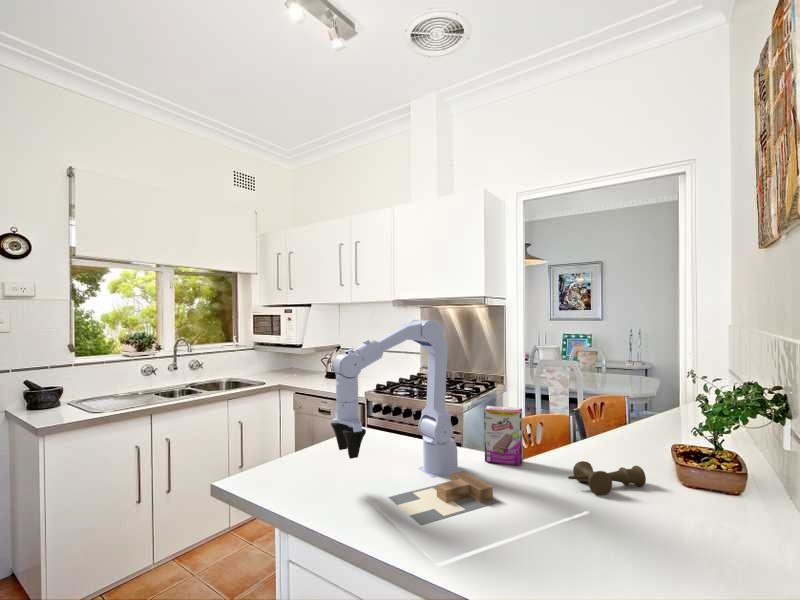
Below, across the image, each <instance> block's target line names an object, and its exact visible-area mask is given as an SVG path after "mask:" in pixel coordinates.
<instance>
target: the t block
mask: <svg viewBox="0 0 800 600" xmlns="http://www.w3.org/2000/svg"><path fill="white" fill-rule="evenodd" d="M436 485H437V497H438V498H439V499H441V500H442V501H444V502H445V503H448V502H452V501H456V500H459V499H463V498H467V497H471V498H473V499H474V500H476V501H478V502H479V503H482V502H485V501H489V500H492V499H493V498H494V489H493V488H494V487H493V486H492V485H491V484H488V483H487V482H485V481H483V480H481V479H480V478H478V477H475V476H474V475H472V474H470V473H468V472H467V471H464V470H459V471H458V472H454V473H450V481H445V482H441V483H438V484H436Z"/></svg>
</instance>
